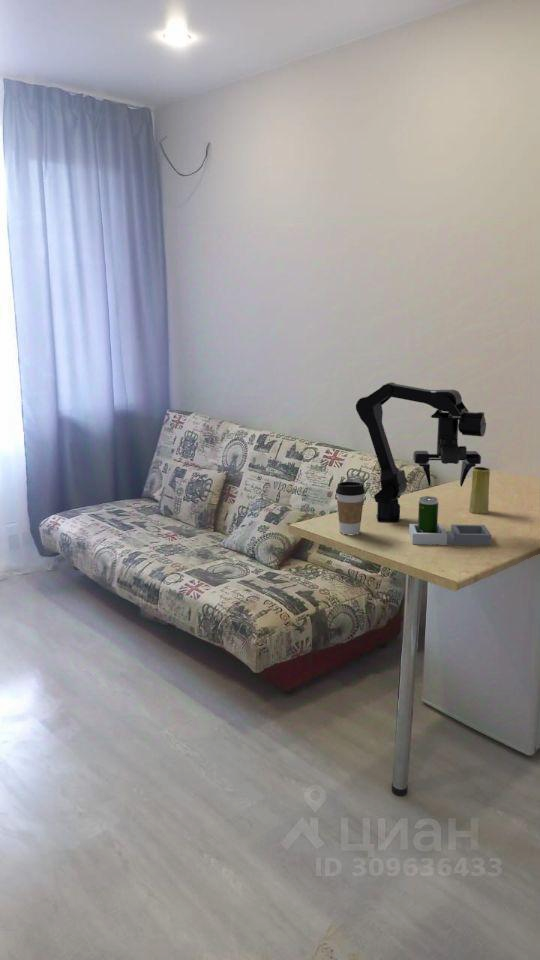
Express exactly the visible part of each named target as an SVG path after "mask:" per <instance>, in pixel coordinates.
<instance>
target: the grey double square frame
mask: <svg viewBox="0 0 540 960" xmlns="http://www.w3.org/2000/svg"><path fill="white" fill-rule="evenodd" d="M408 526H409V529H408V534H409V538H410V540H411V543H412V545H432V544H434V545H435V544H439V545H440V546H442V545H443V546H447V545H448V546H492V534H491V532H490V531H489V529H488V528H487V527H486V525H485V524H451V525H450V530H446V529H445V527H444V525H443V524H441V523H440V524H438V523H437V533H418V523H409V525H408ZM434 545H433V546H434ZM435 546H436V545H435Z"/></svg>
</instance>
